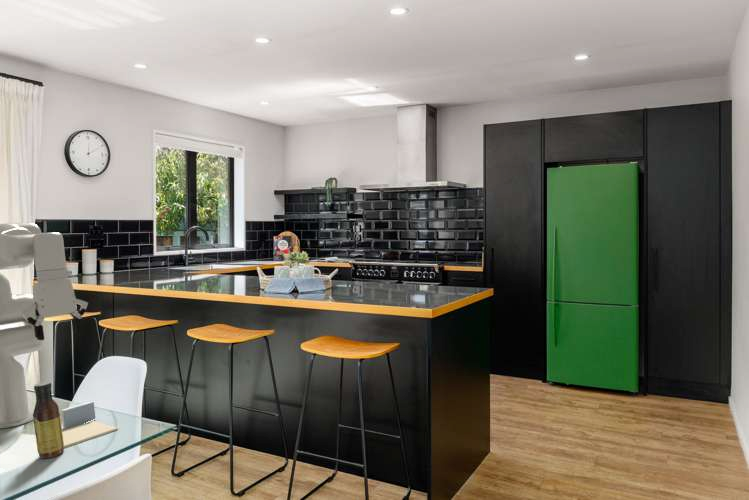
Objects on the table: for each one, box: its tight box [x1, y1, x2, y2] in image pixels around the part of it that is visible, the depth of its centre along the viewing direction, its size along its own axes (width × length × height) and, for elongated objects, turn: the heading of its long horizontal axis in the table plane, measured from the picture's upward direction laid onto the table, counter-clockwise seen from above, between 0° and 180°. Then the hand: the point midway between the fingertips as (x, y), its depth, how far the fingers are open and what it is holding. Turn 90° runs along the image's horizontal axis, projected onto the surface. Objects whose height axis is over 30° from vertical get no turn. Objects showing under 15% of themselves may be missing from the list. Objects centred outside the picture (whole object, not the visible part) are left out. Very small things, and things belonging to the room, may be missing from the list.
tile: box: [61, 401, 96, 430], centre depth 180 cm, size 2×9×6 cm, turn 141°
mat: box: [62, 420, 119, 449], centre depth 170 cm, size 16×16×1 cm
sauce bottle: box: [32, 381, 65, 459], centre depth 154 cm, size 6×6×20 cm
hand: (59, 336), depth 160 cm, fingers open, 9 cm apart
